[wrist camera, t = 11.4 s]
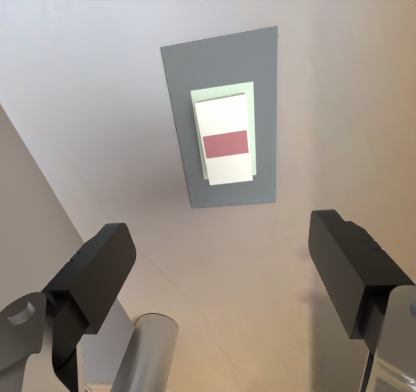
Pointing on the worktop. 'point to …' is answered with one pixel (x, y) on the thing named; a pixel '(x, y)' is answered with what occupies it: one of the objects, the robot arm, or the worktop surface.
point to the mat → (222, 86)
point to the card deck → (225, 138)
